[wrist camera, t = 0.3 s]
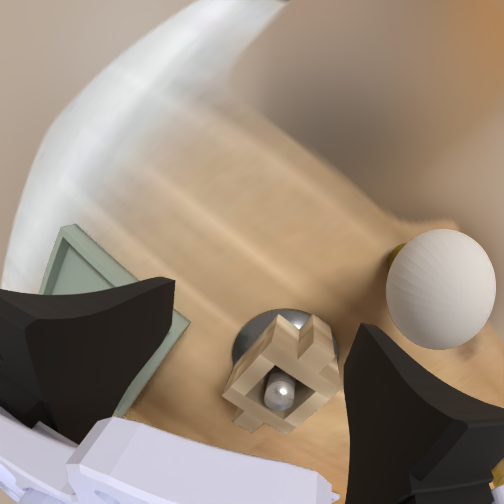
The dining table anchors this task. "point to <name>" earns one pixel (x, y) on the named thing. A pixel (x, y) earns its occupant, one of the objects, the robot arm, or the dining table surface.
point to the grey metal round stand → (279, 380)
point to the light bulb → (440, 289)
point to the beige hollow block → (291, 361)
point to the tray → (96, 279)
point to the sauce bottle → (498, 474)
